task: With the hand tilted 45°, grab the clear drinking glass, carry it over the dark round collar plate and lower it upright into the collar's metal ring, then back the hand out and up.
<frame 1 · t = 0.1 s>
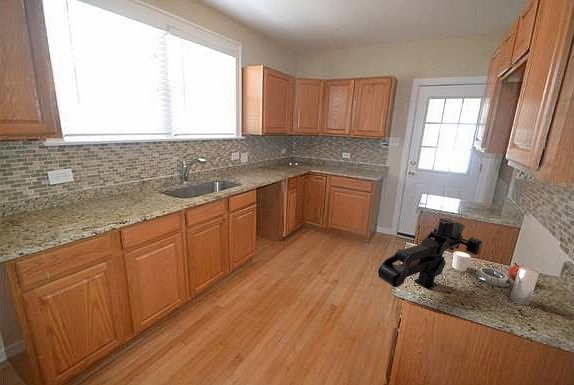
hand: (465, 236, 117), 17 cm above the countertop, tool horizontal, fingers open, 9 cm apart
clear drinking glass: (519, 300, 100), on the countertop
pomegranate: (518, 280, 114), on the countertop
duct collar: (491, 279, 114), on the countertop
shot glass: (459, 268, 122), on the countertop
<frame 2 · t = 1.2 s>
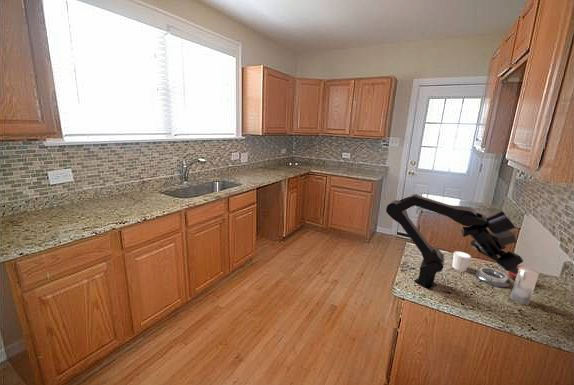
hand: (506, 266, 98), 14 cm above the countertop, tool tilted 45°, fingers open, 9 cm apart
nothing on the countertop moved.
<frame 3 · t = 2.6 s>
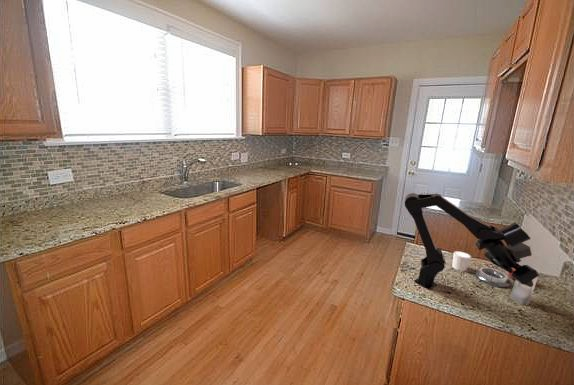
hand: (521, 278, 98), 9 cm above the countertop, tool tilted 45°, fingers open, 9 cm apart
nothing on the countertop moved.
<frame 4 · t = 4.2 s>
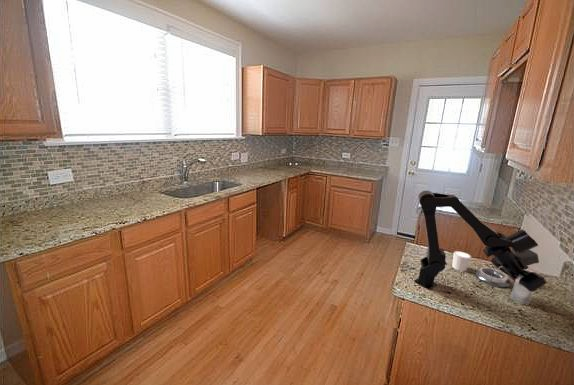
hand: (528, 285, 99), 7 cm above the countertop, tool tilted 45°, fingers closed on clear drinking glass, 6 cm apart
clear drinking glass: (519, 300, 100), on the countertop, touching gripper
everything else where it was.
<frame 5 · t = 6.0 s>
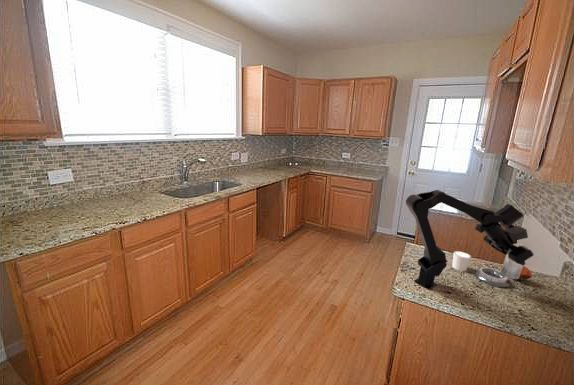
hand: (517, 260, 103), 13 cm above the countertop, tool tilted 45°, fingers closed on clear drinking glass, 6 cm apart
clear drinking glass: (509, 275, 105), point 7 cm above the countertop, touching gripper
everything else where it was.
when the fingers open (9 cm above the countertop, at t = 8.0 s): clear drinking glass drops 1 cm, resting on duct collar.
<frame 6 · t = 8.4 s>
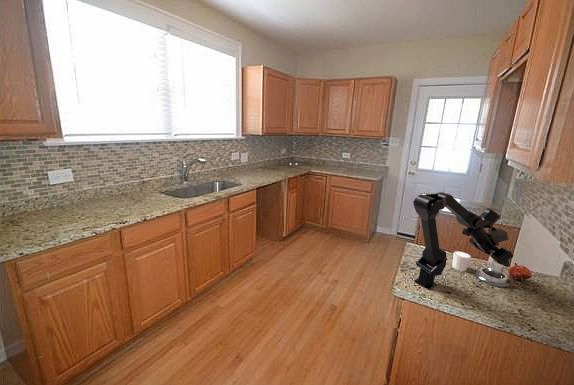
hand: (500, 260, 112), 9 cm above the countertop, tool tilted 45°, fingers open, 9 cm apart
clear drinking glass: (492, 277, 114), point 1 cm above the countertop, touching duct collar
everything else where it was.
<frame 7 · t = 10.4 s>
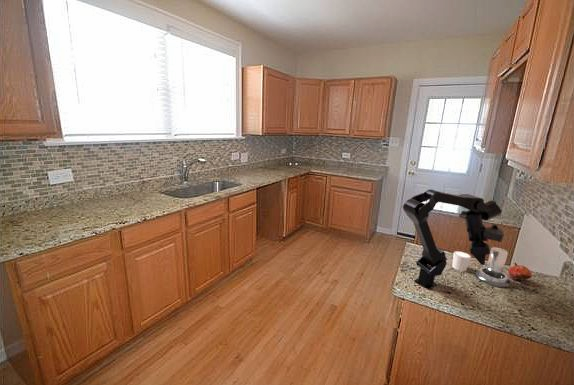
hand: (481, 258, 108), 11 cm above the countertop, tool tilted 20°, fingers open, 9 cm apart
nothing on the countertop moved.
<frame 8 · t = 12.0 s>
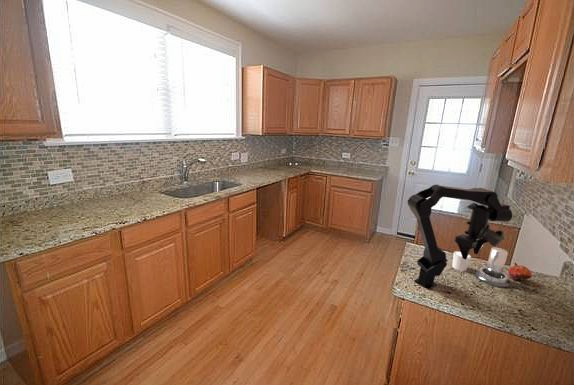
hand: (470, 256, 106), 13 cm above the countertop, tool pointing down, fingers open, 9 cm apart
nothing on the countertop moved.
at the end: clear drinking glass 0.1 cm off-centre on the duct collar, point 1.0 cm above the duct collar's base; clear drinking glass tilted 0°; the gripper is holding nothing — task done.
